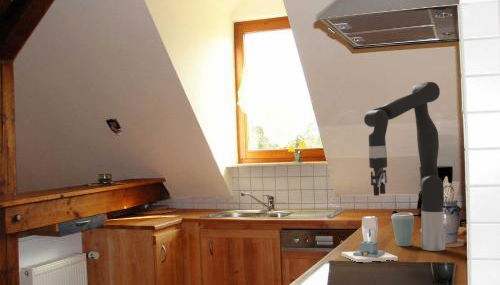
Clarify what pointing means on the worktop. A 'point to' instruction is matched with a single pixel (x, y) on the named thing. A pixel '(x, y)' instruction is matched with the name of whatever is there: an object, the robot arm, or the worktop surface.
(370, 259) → the post base
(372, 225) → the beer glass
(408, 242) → the disposable coffee cup
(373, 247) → the flange
